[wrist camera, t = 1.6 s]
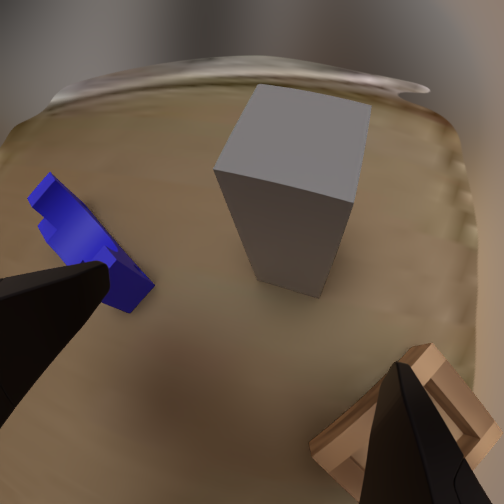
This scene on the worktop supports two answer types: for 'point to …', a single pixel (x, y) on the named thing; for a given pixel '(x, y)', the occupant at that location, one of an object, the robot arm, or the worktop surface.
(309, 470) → the worktop surface
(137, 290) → the cable clip
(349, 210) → the plain gray rectangular block
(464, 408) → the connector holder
